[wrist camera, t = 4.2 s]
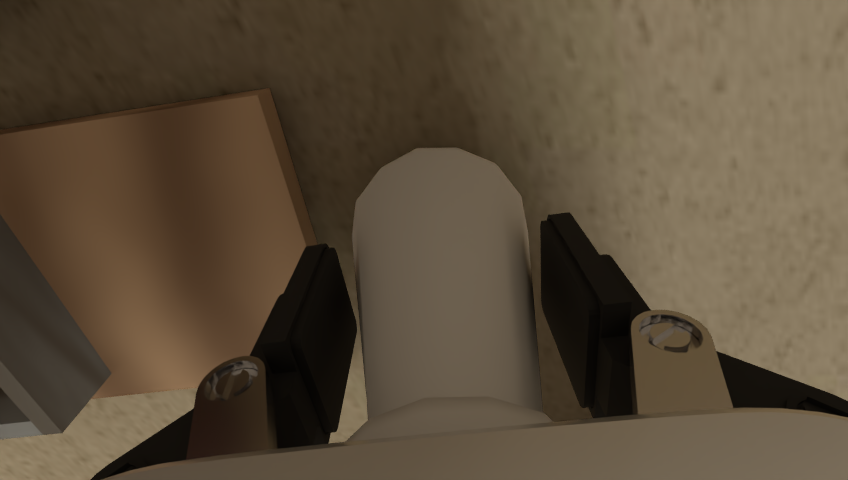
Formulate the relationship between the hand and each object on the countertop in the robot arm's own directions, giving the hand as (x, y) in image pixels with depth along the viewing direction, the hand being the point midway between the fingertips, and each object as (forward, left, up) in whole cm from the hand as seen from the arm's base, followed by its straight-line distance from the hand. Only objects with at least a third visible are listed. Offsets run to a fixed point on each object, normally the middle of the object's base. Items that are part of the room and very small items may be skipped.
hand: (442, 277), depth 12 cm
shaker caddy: (+15, +1, -5) cm, 16 cm away
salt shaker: (0, 0, -5) cm, 5 cm away
